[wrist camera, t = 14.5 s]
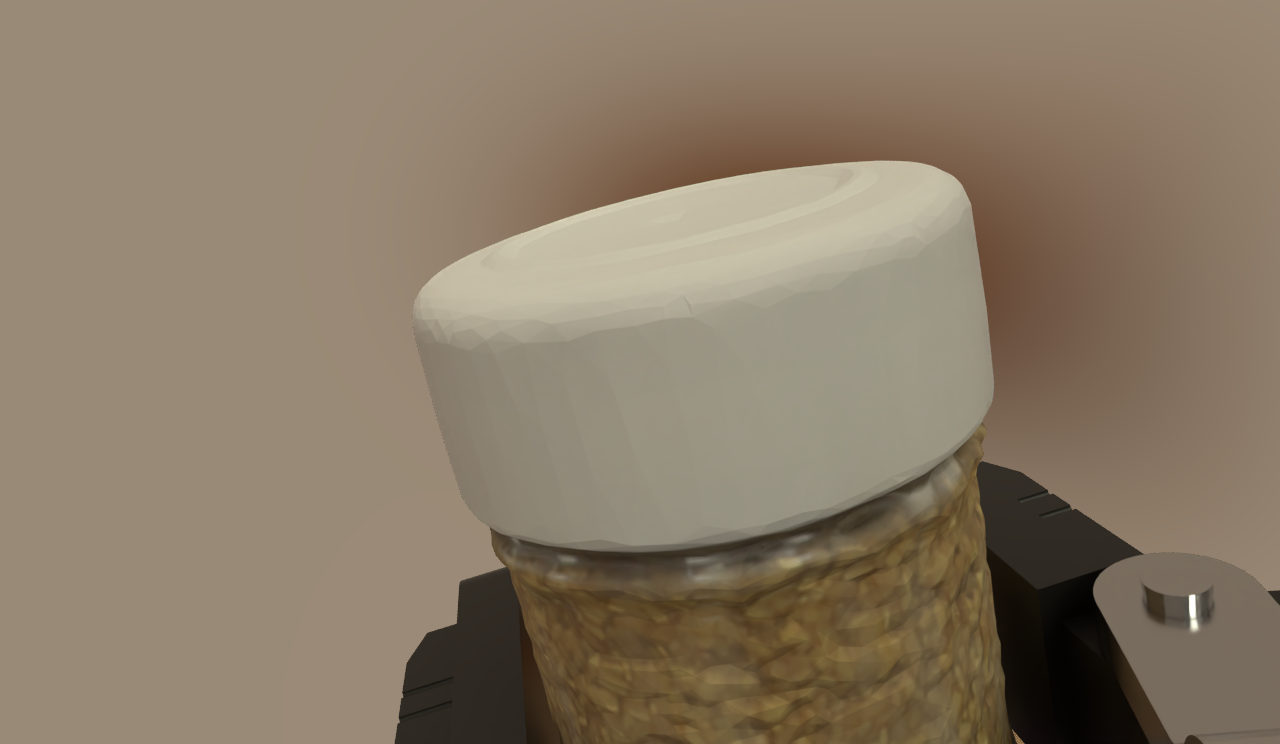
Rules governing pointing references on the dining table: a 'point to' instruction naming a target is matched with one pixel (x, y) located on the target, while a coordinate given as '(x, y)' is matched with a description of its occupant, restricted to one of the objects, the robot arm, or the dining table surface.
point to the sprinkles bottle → (737, 457)
